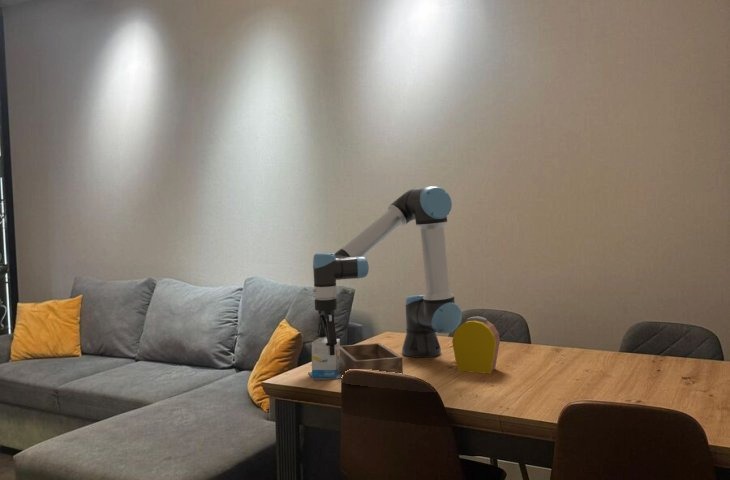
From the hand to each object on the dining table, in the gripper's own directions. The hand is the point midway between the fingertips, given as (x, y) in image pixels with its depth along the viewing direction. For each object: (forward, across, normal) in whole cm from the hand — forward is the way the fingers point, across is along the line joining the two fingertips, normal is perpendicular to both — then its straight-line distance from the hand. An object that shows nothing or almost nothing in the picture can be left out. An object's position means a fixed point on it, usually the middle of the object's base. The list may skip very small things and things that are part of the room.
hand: (327, 360), depth 220 cm
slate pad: (+5, 0, 0) cm, 5 cm away
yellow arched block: (+6, +9, +51) cm, 52 cm away
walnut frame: (+6, -1, +15) cm, 16 cm away
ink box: (+5, 0, 0) cm, 5 cm away
